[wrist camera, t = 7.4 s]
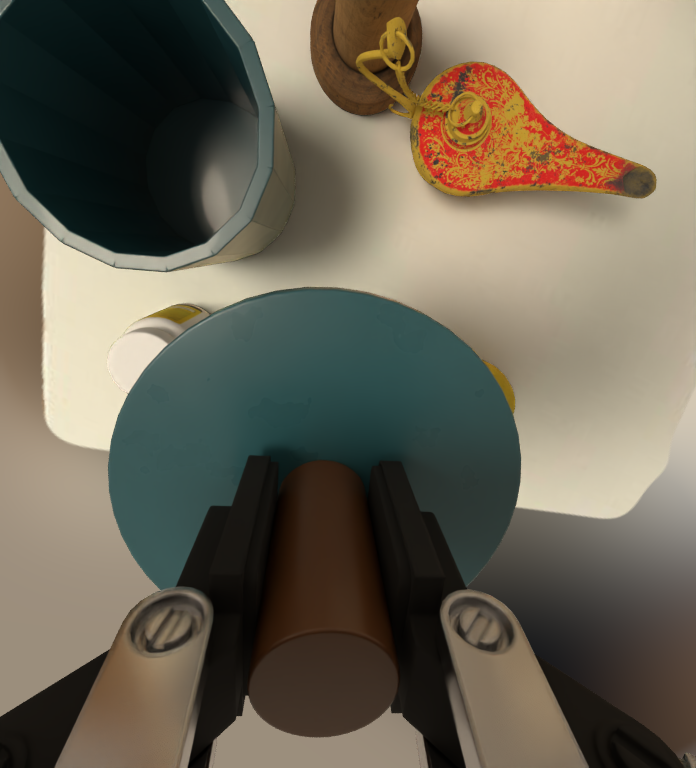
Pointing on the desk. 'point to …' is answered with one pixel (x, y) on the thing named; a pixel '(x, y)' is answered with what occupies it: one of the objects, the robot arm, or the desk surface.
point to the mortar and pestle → (360, 50)
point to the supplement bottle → (148, 341)
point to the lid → (315, 475)
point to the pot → (142, 130)
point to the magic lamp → (495, 134)
